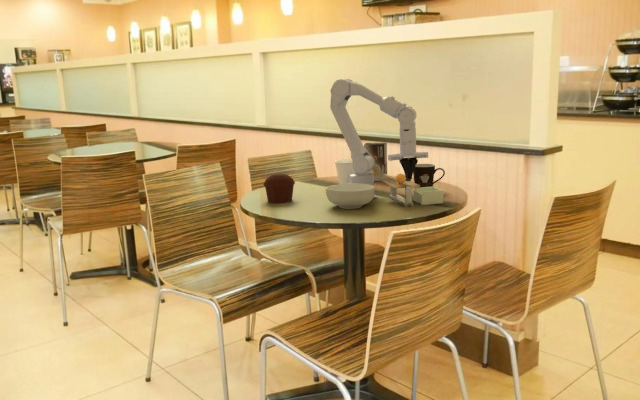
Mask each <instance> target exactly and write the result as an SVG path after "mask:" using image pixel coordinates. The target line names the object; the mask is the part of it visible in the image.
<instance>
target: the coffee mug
mask: <svg viewBox="0 0 640 400" xmlns="http://www.w3.org/2000/svg"><path fill="white" fill-rule="evenodd" d="M438 170H441V171H442V172H443V174H442V176H441V177H439V178H438V179H436V180H435V181H434V177H435V174H436V172H437V171H438ZM445 175H446V172H445V169H443V168H442V167H437V168H436V164H433V163H417V164H416V166H415V168H414V171H413V175H412V177H413V182H414V183H416V184H418V185H420V187H434V185H435V184H436V183H437V182H439V181H440V180H442V178H443V177H444V176H445Z"/></svg>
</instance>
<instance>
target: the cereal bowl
mask: <svg viewBox="0 0 640 400" xmlns="http://www.w3.org/2000/svg"><path fill="white" fill-rule="evenodd" d="M375 190H376V189H375V185H374V186H373V185H369V184H360V183H348V184H339V183H338V184H333V185H328V186H326V187H325V194H326V195H325V196H326V199H327V200H328V201H329V203H331V204H333V205H335V206H338V207H339V208H340V209H343V210H355V209H361V208H362V207H363V206H365V205H367V204H369V203H370V202H371V201H372V200H373V199H374V198H373V197H374V195H375Z"/></svg>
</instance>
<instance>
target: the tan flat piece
mask: <svg viewBox="0 0 640 400" xmlns="http://www.w3.org/2000/svg"><path fill="white" fill-rule="evenodd" d="M382 182H383V183H384V184H386V185H388V186H392V187H394V188H397V189H405V186H407V185H411V186H412V189H415V188H420V185H418V184H416V183H414V181H412V179H407V178H406V180H405V182H404V183H402V184H399V183H398V180H397V179H395V177H392V175H391V176H390V175H389V174H387V175H386V174H383V181H382Z"/></svg>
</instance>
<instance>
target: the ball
mask: <svg viewBox="0 0 640 400" xmlns="http://www.w3.org/2000/svg"><path fill="white" fill-rule="evenodd" d="M394 178H395V179H397V180H398V183H399V184H402V183H404V182H405V180H406V177H405V173H404V174H403V173H402V172H400V173H397V175H396V176H395V177H394Z"/></svg>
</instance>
